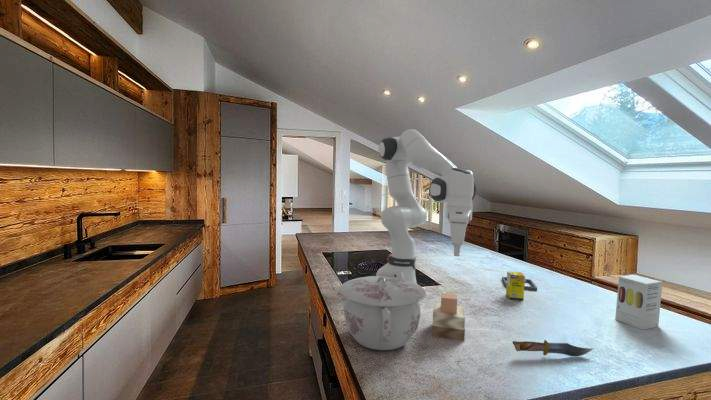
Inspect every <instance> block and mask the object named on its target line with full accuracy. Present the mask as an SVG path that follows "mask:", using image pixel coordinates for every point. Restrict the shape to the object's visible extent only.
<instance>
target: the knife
mask: <svg viewBox="0 0 711 400" xmlns="http://www.w3.org/2000/svg"><path fill="white" fill-rule="evenodd" d="M511 342H512V344H513V347H514V348H515V349H514V350H515V352H521V351H522V352H542V353H543V354H542V355H543V356H547V355H548V354H561V355H565V356H569V357H581V356H584V355H587V354H588V353H590V352H591V351H592V350H594V348H589V347H580V346H575V345H572V344H570V343H568V342H548V341H547V340H546V339H544V340H543V342H539V341H538V342H537V341H524V340H523V341H516V340H512V341H511Z"/></svg>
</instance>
